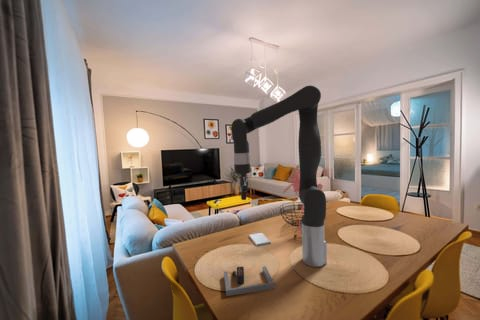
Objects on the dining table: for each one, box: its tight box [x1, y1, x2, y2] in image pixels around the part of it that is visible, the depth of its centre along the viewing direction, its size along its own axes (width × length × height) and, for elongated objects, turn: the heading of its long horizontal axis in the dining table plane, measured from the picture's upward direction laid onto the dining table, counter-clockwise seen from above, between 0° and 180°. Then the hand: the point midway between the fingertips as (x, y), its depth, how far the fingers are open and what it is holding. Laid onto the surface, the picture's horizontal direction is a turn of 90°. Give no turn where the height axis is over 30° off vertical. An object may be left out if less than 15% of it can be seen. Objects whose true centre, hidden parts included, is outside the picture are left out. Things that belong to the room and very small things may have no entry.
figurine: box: [282, 173, 323, 235], centre depth 119 cm, size 15×26×35 cm, turn 114°
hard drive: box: [248, 232, 272, 247], centre depth 112 cm, size 2×8×12 cm
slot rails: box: [223, 265, 275, 297], centre depth 77 cm, size 17×11×2 cm, turn 99°
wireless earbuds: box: [232, 266, 245, 285], centre depth 80 cm, size 5×7×3 cm, turn 1°
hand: (243, 199), depth 95 cm, fingers closed
